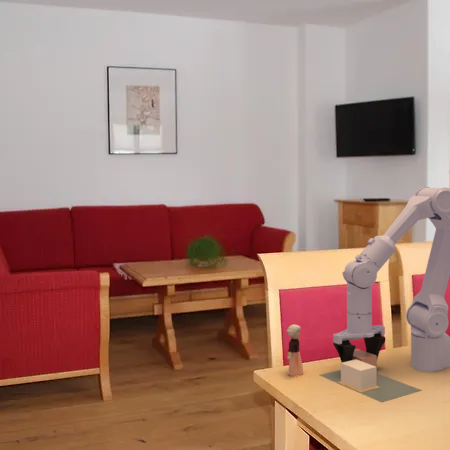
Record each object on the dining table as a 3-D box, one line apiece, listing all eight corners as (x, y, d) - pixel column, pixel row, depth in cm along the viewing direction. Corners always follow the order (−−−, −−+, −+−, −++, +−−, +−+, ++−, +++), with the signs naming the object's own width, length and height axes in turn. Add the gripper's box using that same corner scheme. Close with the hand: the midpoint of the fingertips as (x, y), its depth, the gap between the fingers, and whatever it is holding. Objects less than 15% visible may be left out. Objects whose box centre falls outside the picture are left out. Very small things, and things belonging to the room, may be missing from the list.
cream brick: (356, 378, 135) (356, 359, 134) (376, 386, 129) (376, 366, 129) (340, 382, 132) (340, 362, 132) (360, 391, 127) (360, 370, 126)
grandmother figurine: (302, 382, 135) (301, 328, 134) (285, 382, 136) (284, 328, 135) (304, 371, 143) (303, 320, 142) (288, 371, 144) (287, 320, 143)
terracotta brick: (357, 366, 143) (357, 348, 143) (376, 374, 137) (376, 355, 137) (343, 370, 141) (342, 352, 140) (362, 378, 135) (361, 359, 135)
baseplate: (357, 368, 144) (357, 365, 144) (422, 393, 127) (422, 389, 127) (319, 378, 138) (319, 374, 138) (381, 406, 121) (381, 401, 121)
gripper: (347, 319, 131) (348, 379, 132) (394, 311, 138) (394, 367, 139) (326, 313, 137) (327, 370, 138) (372, 305, 144) (372, 359, 145)
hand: (359, 368), depth 139 cm, fingers open, 7 cm apart
